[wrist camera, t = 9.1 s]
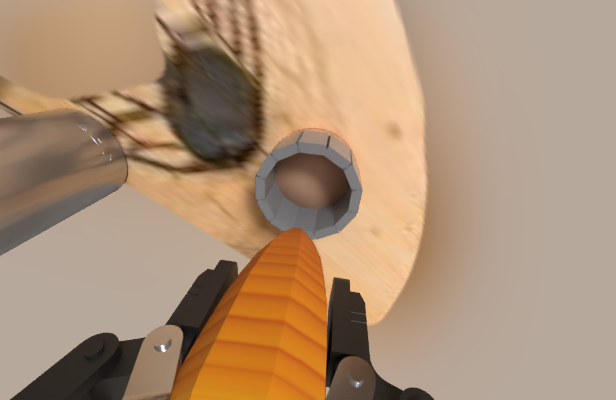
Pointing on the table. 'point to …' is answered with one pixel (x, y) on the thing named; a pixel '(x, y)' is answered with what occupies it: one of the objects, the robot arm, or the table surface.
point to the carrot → (264, 331)
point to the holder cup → (310, 183)
